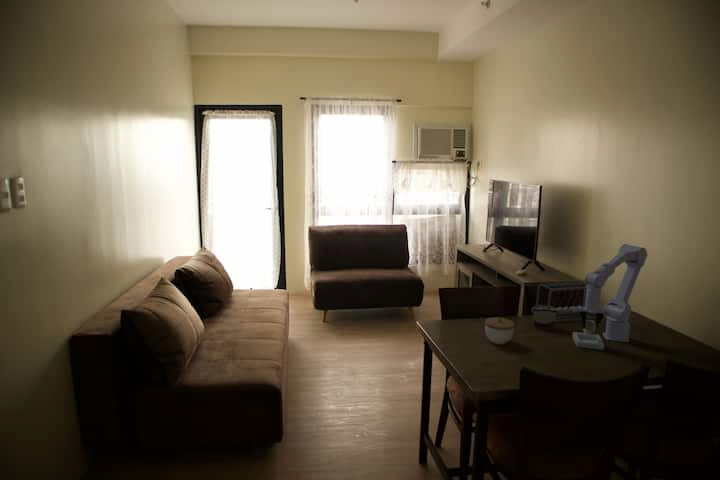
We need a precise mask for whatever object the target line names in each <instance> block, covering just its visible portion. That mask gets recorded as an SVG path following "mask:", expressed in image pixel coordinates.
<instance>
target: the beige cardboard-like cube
mask: <svg viewBox="0 0 720 480" xmlns="http://www.w3.org/2000/svg"><path fill="white" fill-rule="evenodd" d="M595 329H596V324H595V320H594V319H593V320H586V324H585V329H583V328H582V330H583V333H585V334H589V335H596V330H597V329H596V330H595Z"/></svg>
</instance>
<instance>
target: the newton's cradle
mask: <svg viewBox="0 0 720 480" xmlns="http://www.w3.org/2000/svg"><path fill="white" fill-rule="evenodd" d="M577 285H578V286H577ZM581 285H583V286H581ZM557 286H559V287H557ZM560 286H561V287H560ZM574 286H575V287H574ZM541 287H545V288H547V289H548V290H549V289H550V290H549V292H548V299H547V306H551V303H552V302H551V301H552V297H553V302H555V296H554V295H555V292H557V294H560V292H562V291H564V293H563V294H564V295H563V298H562V301H561V304H560V306H559V307H556V305H557V303H554V306H553V307H554V308H556V309H557V310H558V313H557V314H556V316H567V314H568V315H579V314H580V313H579V312H574V311H573V309H574V307H575V306H576V300H577V299H575V301H574V302H573V305H572V306H570V307H569V303H570V299H571V298H569V300H568V302H567V297H568V296H567V294H566V292H567V291H571V292H570V293H571V294H570V296H569V297H571V296H572V295H574V291H577V292H576V294H579V291H580V290H584V291H583V297H582V299H581V300H582V301H581V300H580V298H581V297H580V296H578V295H576V297H575V298H577V296H578V299H579V305H577V306H576V307H585V301H586V292H587V288H586V283H585V280H584V281H569V282H553V283H540V284H538V286H537V291H536V301H535V303H536V304H535V305H540V302H539V301H540V291H541ZM551 287H552V288H551ZM554 287H555V288H554ZM552 294H553V296H552ZM565 295H566V296H565ZM558 296H559V295H557V296H556V298H559V297H558ZM565 298H566V299H565ZM564 299H565V301H566V305H565V306H564V307H562V305H563V302H564ZM557 300H558V299H556V302H557ZM580 301H581V302H580ZM581 304H582V305H581ZM586 315H587V317H586V320H593V321H594V320H595V315H594V316H593V317H592V316H589V315H588V314H586ZM581 320H582V319H581V317H580V318H571V319H570V318H569V319H567V318H566V319H558V320H557V319H555V323H554V324H556V323H566V322H568V323H569V322H579V321H580V322H582V321H581Z"/></svg>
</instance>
